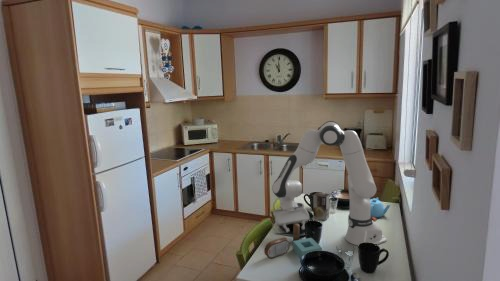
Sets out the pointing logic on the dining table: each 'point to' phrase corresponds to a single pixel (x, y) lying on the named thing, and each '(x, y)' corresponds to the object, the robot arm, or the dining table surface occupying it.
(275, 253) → the tin
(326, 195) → the coffee box
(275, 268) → the dining table surface
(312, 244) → the teal square-hole block
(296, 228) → the walnut dowel
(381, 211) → the teapot
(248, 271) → the dining table surface
